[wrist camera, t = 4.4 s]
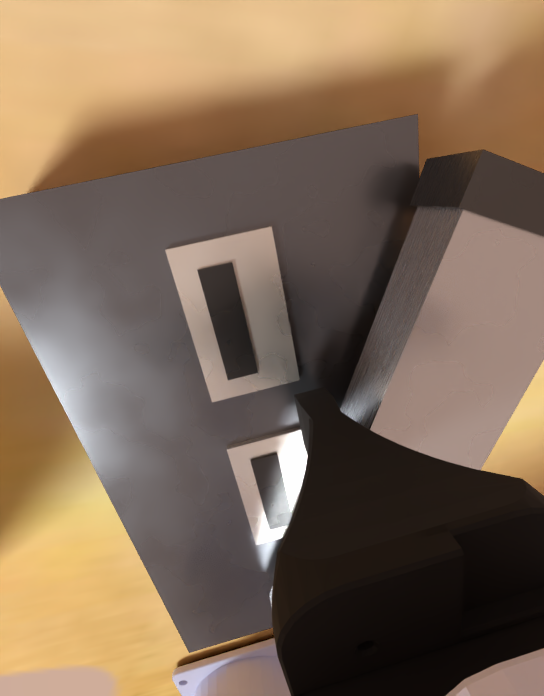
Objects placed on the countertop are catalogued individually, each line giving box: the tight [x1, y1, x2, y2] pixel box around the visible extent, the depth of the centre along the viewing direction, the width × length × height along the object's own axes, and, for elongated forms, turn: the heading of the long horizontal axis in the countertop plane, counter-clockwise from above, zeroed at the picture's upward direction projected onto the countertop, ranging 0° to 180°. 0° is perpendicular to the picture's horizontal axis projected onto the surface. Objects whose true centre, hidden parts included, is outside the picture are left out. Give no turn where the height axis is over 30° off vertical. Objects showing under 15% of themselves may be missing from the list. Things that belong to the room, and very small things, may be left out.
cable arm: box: [269, 150, 544, 609], centre depth 13 cm, size 20×5×2 cm, turn 165°
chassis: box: [0, 114, 419, 653], centre depth 15 cm, size 20×12×3 cm, turn 11°
